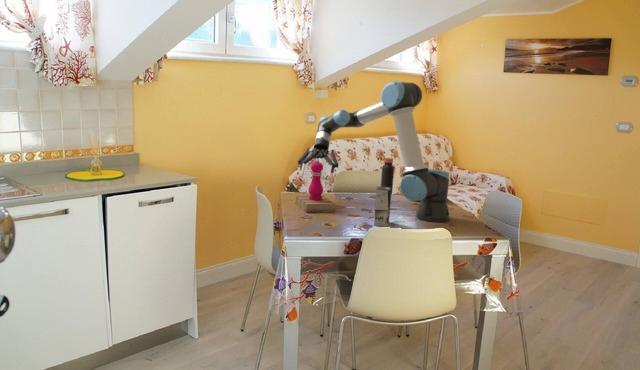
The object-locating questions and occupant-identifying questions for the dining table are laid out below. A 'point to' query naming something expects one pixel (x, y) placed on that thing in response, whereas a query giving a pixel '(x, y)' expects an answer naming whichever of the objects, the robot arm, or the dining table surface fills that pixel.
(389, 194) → the coffee box
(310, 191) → the pepper mill
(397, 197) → the dining table surface
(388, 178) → the bottle
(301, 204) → the wooden slatted trivet
